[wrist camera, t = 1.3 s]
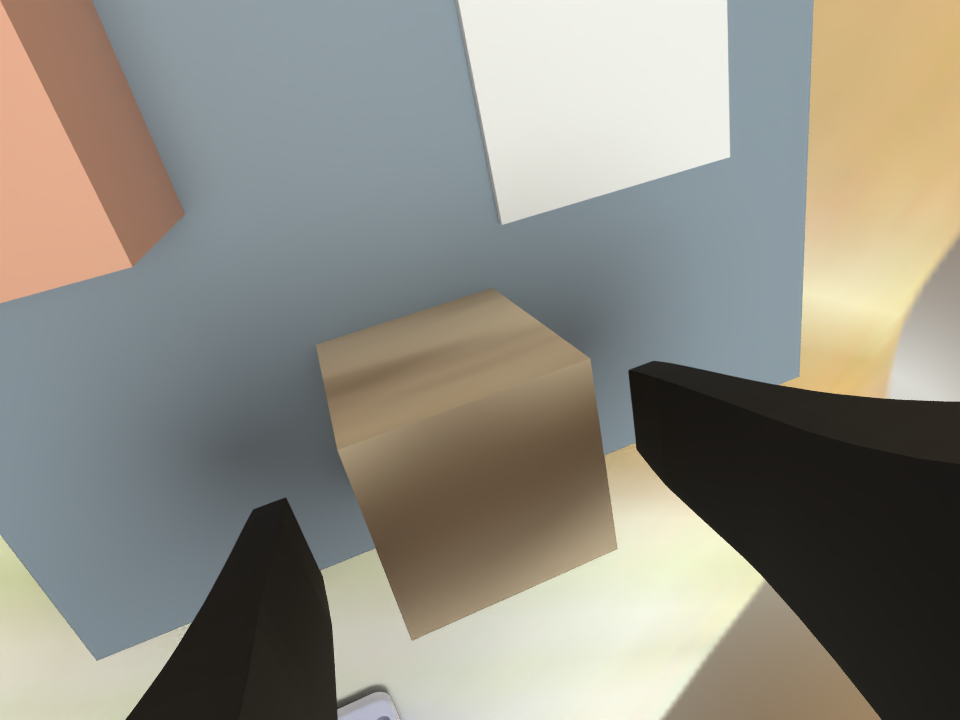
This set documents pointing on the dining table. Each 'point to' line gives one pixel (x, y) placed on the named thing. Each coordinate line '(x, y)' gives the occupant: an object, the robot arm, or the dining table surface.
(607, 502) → the maple block
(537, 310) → the build board
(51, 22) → the terracotta block
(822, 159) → the dining table surface
